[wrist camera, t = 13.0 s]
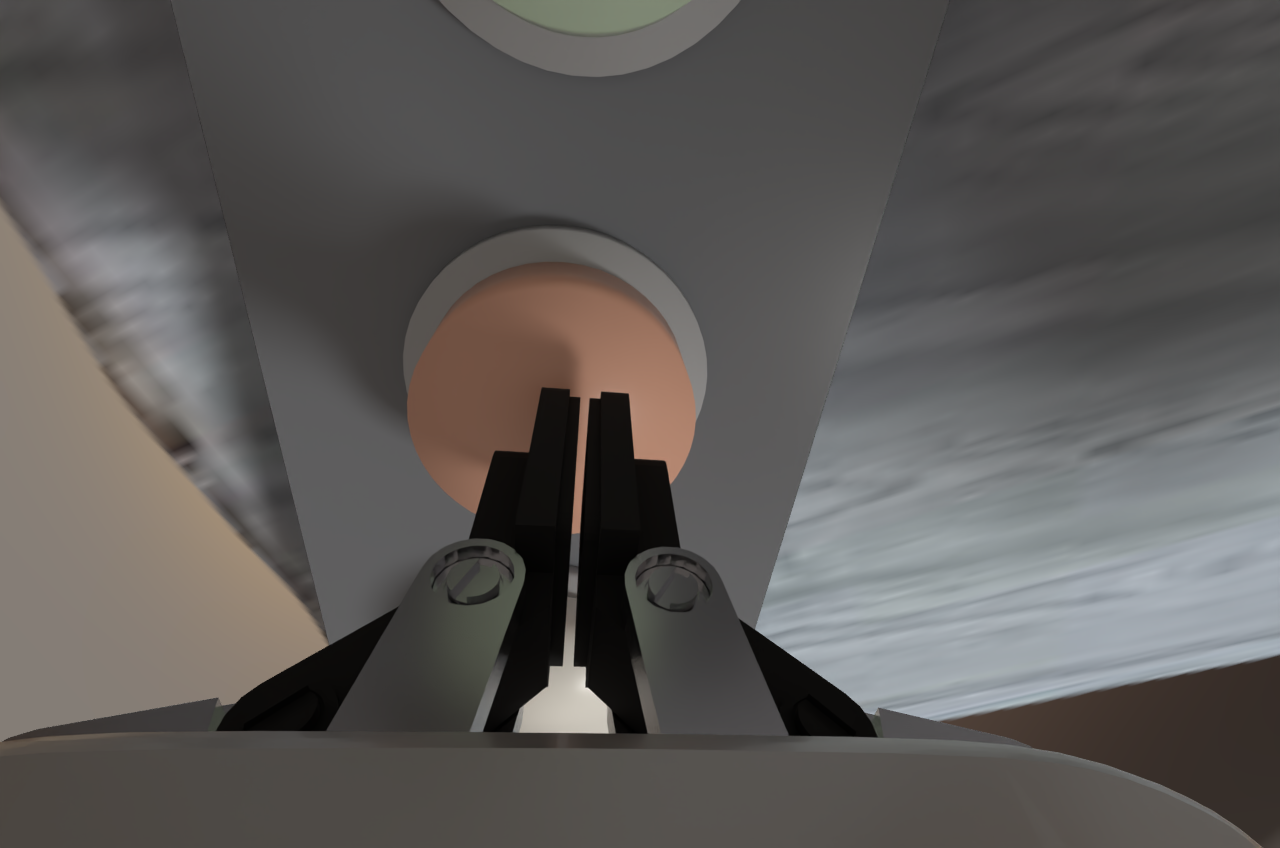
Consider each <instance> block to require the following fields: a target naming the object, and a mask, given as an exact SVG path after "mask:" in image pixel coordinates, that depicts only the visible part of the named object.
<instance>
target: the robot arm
mask: <svg viewBox="0 0 1280 848" xmlns="http://www.w3.org/2000/svg"><path fill="white" fill-rule="evenodd" d="M580 399H581V397H570V389H561V388H546V387H542V388H541V393H540V398H539V403H538V408H537V414H536V419H535V424H534V429H533V434H532V439H531V444H530V449H529V452H514V451H497V450H496V451H495V452H494V454H493V457H492V460H491V464H490V467H489V470H488V474H487V477H486V481H485V484H484V488H483V491H482V495H481V498H480V502H479V505H478V509H477V512H476V515H475V519H474V522H473V526H472V529H471V533H470V536H469V539H468V540H462V541H458V542H455V543H453V544H450V545H447V546H445V547H443V548H442V549H440V550H439V551H437V552H436V553H434V554H433V555H431V557H430V558H429V559H428V560H427V561H426V563H425V564H424V565H423V566H422V568H421V570H420V571H419V573H418V575H417V576H416V578H415V580H414V582H413V583H412V585H411V587H410V588H409V590H408V592H407V594H406V595H405V597H404V599H403V600H402V602H401V604H400V605H399V606H398V607H397V608H395V609H393V610H391V611H389V612H388V613H386V614H384V615H382V616H381V617H379V618H377V619H375V620H373V621H372V622H370V623H368V624H366V625H365V626H363V627H361V628H359V629H357V630H356V631H354V632H352V633H350V634H349V635H347V636H345V637H343V638H341V639H340V640H338V641H336V642H334V643H333V644H331V645H329V646H327V647H325V648H324V649H322V650H320V651H318V652H317V653H315V654H313V655H311V656H310V657H308V658H306V659H304V660H302V661H301V662H299V663H297V664H295V665H294V666H292V667H290V668H288V669H286V670H285V671H283V672H281V673H279V674H277V675H276V676H274V677H272V678H270V679H269V680H267V681H265V682H263V683H262V684H260V685H258V686H257V687H256V688H254V689H253V690H251V691H250V692H248V693H247V694H246V695H244V696H243V697H241V698H240V700H239V701H238V702H237V703H235V704H230V705H224V706H222V705H221V703H220V700H219V698H213V699H207V700H202V701H196V702H191V703H184V704H179V705H173V706H168V707H162V708H156V709H150V710H145V711H139V712H134V713H128V714H122V715H116V716H111V717H105V718H99V719H93V720H87V721H82V722H76V723H70V724H65V725H59V726H53V727H47V728H42V729H37V730H33V731H30V732H27V733H23V734H20V735H17V736H14V737H10V738H8V739H6V740H4V741H2V742H0V848H1262V847H1261V846H1260V845H1259V844H1257V843H1256V842H1255V841H1254V840H1253V839H1251V838H1250V837H1249V836H1248V835H1247V834H1245V833H1244V832H1243V831H1242V830H1240V829H1239V828H1238V827H1236V826H1235V825H1233V824H1231V823H1230V822H1229V821H1227V820H1226V819H1224V818H1223V817H1221V816H1220V815H1218V814H1217V813H1215V812H1214V811H1212V810H1210V809H1208V808H1207V807H1205V806H1203V805H1200V804H1199V803H1197V802H1195V801H1193V800H1191V799H1189V798H1187V797H1185V796H1183V795H1181V794H1179V793H1177V792H1175V791H1172V790H1170V789H1168V788H1166V787H1164V786H1162V785H1159V784H1157V783H1154V782H1151V781H1149V780H1146V779H1143V778H1140V777H1138V776H1135V775H1132V774H1129V773H1127V772H1123V771H1120V770H1118V769H1116V768H1113V767H1110V766H1107V765H1104V764H1100V763H1096V762H1092V761H1088V760H1085V759H1081V758H1077V757H1073V756H1069V755H1065V754H1061V753H1057V752H1051V751H1045V750H1038V749H1033V748H1032V747H1030V746H1028V745H1025V744H1023V743H1020V742H1018V741H1015V740H1012V739H1010V738H1005V737H1001V736H997V735H993V734H988V733H984V732H980V731H976V730H971V729H967V728H963V727H959V726H954V725H950V724H946V723H941V722H937V721H933V720H929V719H924V718H920V717H916V716H912V715H907V714H903V713H899V712H895V711H890V710H886V709H882V708H878V709H877V711H876V713H875V715H872V714H868V713H864V711H863V710H862V708H861V707H860V706H859V705H858V704H857V703H855V702H854V701H853V700H852V699H851V698H850V697H849V696H847V695H846V694H845V693H844V692H842V691H841V690H839V689H838V688H837V687H835V686H834V685H832V684H831V683H830V682H828V681H827V680H825V679H824V678H822V677H821V676H820V675H818V674H817V673H815V672H814V671H813V670H811V669H810V668H808V667H807V666H806V665H804V664H803V663H801V662H800V661H798V660H797V659H796V658H794V657H793V656H791V655H790V654H789V653H787V652H786V651H784V650H783V649H781V648H780V647H779V646H777V645H776V644H774V643H773V642H772V641H770V640H769V639H767V638H766V637H765V636H763V635H762V634H760V633H759V632H757V631H756V630H755V629H753V628H752V627H750V626H749V625H748V624H746V623H745V622H743V621H742V620H740V619H739V618H738V616H737V614H736V612H735V609H734V607H733V605H732V602H731V600H730V598H729V595H728V593H727V591H726V588H725V586H724V584H723V581H722V579H721V577H720V575H719V574H718V572H717V571H716V569H715V568H714V566H712V565H711V564H710V563H709V562H708V561H707V560H705V559H704V558H703V557H701V556H699V555H697V554H695V553H693V552H691V551H688V550H684V549H681V547H680V541H679V535H678V529H677V523H676V517H675V511H674V505H673V499H672V493H671V487H670V481H669V475H668V469H667V464H666V461H664V460H649V459H634V447H633V435H632V423H631V411H630V399H629V393H617V392H603V391H601V395H600V399H598V398H590V399H589V412H588V426H587V439H586V453H585V466H584V480H583V493H582V507H581V522H580V542H579V563H578V583H577V603H576V624H575V644H574V667H586V680H585V688H589V689H590V690H591V691H592V692H593V693H594V694H595V695H596V696H597V697H598V698H599V699H601V700H602V701H603V702H604V703H605V704H606V705H607V725H608V731H609V733H519V731H520V727H521V724H522V720H523V712H524V705H525V704H526V703H527V702H529V701H530V700H531V699H532V698H533V697H535V696H536V695H537V694H538V693H540V692H541V691H542V690H543V689H545V688H546V687H548V684H549V672H550V666H563V656H564V641H565V626H566V611H567V596H568V581H569V567H570V552H571V537H572V522H573V507H574V491H575V476H576V461H577V445H578V430H579V415H580Z"/></svg>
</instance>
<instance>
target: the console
mask: <svg viewBox="0 0 1280 848" xmlns="http://www.w3.org/2000/svg"><path fill="white" fill-rule="evenodd" d="M949 2H950V0H692V1H690V2H689V3H687V4H686V5H684V6H683V7H682V8H680V9H679V10H677V11H675V12H674V13H672V14H671V15H669V16H667V17H666V18H664V19H663V20H661V21H659V22H656V23H654V24H652V25H650V26H647V27H645V28H643V29H640V30H637V31H633V32H629V33H625V34H622V35H617V36H607V37H597V38H594V37H577V36H570V35H565V34H561V33H556V32H551V31H549V30H546V29H543V28H541V27H538V26H535V25H533V24H530V23H528V22H526V21H524V20H522V19H521V18H519V17H517V16H515V15H513V14H511V13H510V12H508V11H506V10H505V9H504V8H502V7H501V6H499V5H498V4H497V3H495V2H494V1H493V0H171V5H172V9H173V13H174V17H175V21H176V25H177V29H178V33H179V37H180V41H181V45H182V49H183V53H184V57H185V61H186V65H187V70H188V74H189V78H190V82H191V86H192V90H193V94H194V98H195V102H196V106H197V110H198V114H199V118H200V122H201V126H202V130H203V134H204V139H205V143H206V147H207V151H208V155H209V159H210V163H211V167H212V171H213V175H214V179H215V183H216V187H217V191H218V195H219V199H220V204H221V208H222V212H223V216H224V220H225V224H226V228H227V232H228V236H229V240H230V244H231V248H232V252H233V256H234V260H235V264H236V268H237V273H238V277H239V281H240V285H241V289H242V293H243V297H244V301H245V305H246V309H247V313H248V317H249V321H250V325H251V329H252V333H253V338H254V342H255V346H256V350H257V354H258V358H259V362H260V366H261V370H262V374H263V378H264V382H265V386H266V390H267V394H268V398H269V402H270V407H271V411H272V415H273V419H274V423H275V427H276V431H277V435H278V439H279V443H280V447H281V451H282V455H283V459H284V463H285V467H286V472H287V476H288V480H289V484H290V488H291V492H292V496H293V500H294V504H295V508H296V512H297V516H298V520H299V524H300V528H301V532H302V536H303V541H304V545H305V549H306V553H307V557H308V561H309V565H310V569H311V573H312V577H313V581H314V585H315V589H316V593H317V597H318V601H319V605H320V610H321V614H322V618H323V622H324V626H325V630H326V634H327V638H328V642H329V645H331V644H333V643H334V642H336V641H338V640H340V639H341V638H343V637H345V636H347V635H349V634H350V633H352V632H354V631H356V630H357V629H359V628H361V627H363V626H365V625H366V624H368V623H370V622H372V621H373V620H375V619H377V618H379V617H381V616H382V615H384V614H386V613H388V612H389V611H391V610H393V609H395V608H397V607H398V606H399V605H400V604H401V602H402V600H403V599H404V597H405V595H406V594H407V592H408V590H409V588H410V587H411V585H412V583H413V582H414V580H415V578H416V576H417V575H418V573H419V571H420V570H421V568H422V566H423V565H424V564H425V563H426V561H427V560H428V559H429V558H430V557H431V555H433V554H434V553H436V552H437V551H439V550H440V549H442V548H443V547H445V546H447V545H450V544H453V543H455V542H458V541H462V540H468V539H469V536H470V533H471V529H472V526H473V522H474V519H475V515H476V514H474V513H472V512H471V511H469V510H468V509H466V508H465V507H463V506H462V505H460V504H459V503H457V502H456V501H455V500H454V499H453V498H451V497H450V496H449V495H448V494H447V493H446V492H444V491H443V489H442V488H441V487H440V486H439V485H438V484H437V483H436V482H435V481H434V480H433V478H432V477H431V475H430V474H429V473H428V471H427V470H426V468H425V467H424V465H423V464H422V462H421V460H420V458H419V456H418V454H417V452H416V450H415V447H414V444H413V441H412V438H411V435H410V430H409V424H408V417H407V399H408V392H409V385H410V382H411V378H412V375H413V372H414V369H415V367H416V365H417V363H418V361H419V359H420V357H421V354H422V353H423V351H424V349H425V348H426V346H427V344H428V343H429V341H430V339H431V338H432V336H433V334H434V332H435V331H436V329H437V327H438V326H439V324H440V322H441V321H442V319H443V318H444V316H445V315H446V313H447V312H448V311H449V309H450V308H451V306H452V305H453V304H454V303H455V302H456V301H457V300H458V299H459V298H460V297H461V296H462V295H463V294H464V293H465V292H466V291H468V290H469V289H470V288H472V287H473V286H474V285H475V284H477V283H479V282H480V281H482V280H484V279H486V278H487V277H489V276H491V275H493V274H495V273H498V272H500V271H503V270H505V269H508V268H511V267H516V266H520V265H524V264H529V263H538V262H567V263H573V264H580V265H585V266H588V267H592V268H595V269H599V270H602V271H604V272H606V273H608V274H611V275H613V276H615V277H618V278H619V279H621V280H623V281H624V282H626V283H628V284H629V285H631V286H633V287H634V288H635V289H636V290H638V291H639V292H640V293H641V294H643V295H644V296H645V297H646V298H647V299H648V300H649V301H650V302H651V303H652V304H653V305H654V306H655V307H656V308H657V309H658V310H659V312H660V313H661V314H662V316H663V317H664V319H665V320H666V321H667V323H668V325H669V326H670V328H671V330H672V332H673V334H674V336H675V338H676V341H677V344H678V347H679V349H680V352H681V355H682V358H683V361H684V364H685V367H686V370H687V373H688V376H689V379H690V382H691V385H692V389H693V394H694V399H695V409H696V423H695V432H694V437H693V441H692V445H691V449H690V451H689V454H688V456H687V459H686V461H685V463H684V465H683V467H682V468H681V470H680V472H679V473H678V475H677V477H676V478H675V479H674V481H673V482H672V483H671V484H670V487H671V493H672V499H673V505H674V511H675V517H676V523H677V529H678V535H679V541H680V547H681V549H684V550H688V551H691V552H693V553H695V554H697V555H699V556H701V557H703V558H704V559H705V560H707V561H708V562H709V563H710V564H711V565H712V566H714V568H715V569H716V571H717V572H718V574H719V575H720V577H721V579H722V581H723V584H724V586H725V588H726V591H727V593H728V595H729V598H730V600H731V602H732V605H733V607H734V609H735V612H736V614H737V616H738V618H739V619H740V620H742V621H743V622H745V623H746V624H748V625H749V626H750V627H752V628H753V629H755V627H756V624H757V620H758V617H759V614H760V611H761V607H762V604H763V601H764V598H765V595H766V591H767V588H768V585H769V582H770V579H771V575H772V572H773V569H774V566H775V562H776V559H777V556H778V553H779V550H780V546H781V543H782V540H783V537H784V533H785V530H786V527H787V524H788V521H789V517H790V514H791V511H792V508H793V504H794V501H795V498H796V495H797V492H798V488H799V485H800V482H801V479H802V475H803V472H804V469H805V466H806V463H807V459H808V456H809V453H810V450H811V446H812V443H813V440H814V437H815V434H816V430H817V427H818V424H819V421H820V417H821V414H822V411H823V408H824V405H825V401H826V398H827V395H828V392H829V388H830V385H831V382H832V379H833V376H834V372H835V369H836V366H837V363H838V359H839V356H840V353H841V350H842V347H843V343H844V340H845V337H846V334H847V330H848V327H849V324H850V321H851V318H852V314H853V311H854V308H855V305H856V302H857V298H858V295H859V292H860V289H861V285H862V282H863V279H864V276H865V273H866V269H867V266H868V263H869V260H870V256H871V253H872V250H873V247H874V244H875V240H876V237H877V234H878V231H879V227H880V224H881V221H882V218H883V215H884V211H885V208H886V205H887V202H888V198H889V195H890V192H891V189H892V186H893V182H894V179H895V176H896V173H897V169H898V166H899V163H900V160H901V157H902V153H903V150H904V147H905V144H906V140H907V137H908V134H909V131H910V128H911V124H912V121H913V118H914V115H915V111H916V108H917V105H918V102H919V99H920V95H921V92H922V89H923V86H924V82H925V79H926V76H927V73H928V70H929V66H930V63H931V60H932V57H933V53H934V50H935V47H936V44H937V41H938V37H939V34H940V31H941V28H942V25H943V21H944V18H945V15H946V12H947V8H948V5H949ZM579 542H580V533H576V534H572V537H571V552H570V567H569V581H568V596H567V597H572V598H577V583H578V563H579Z"/></svg>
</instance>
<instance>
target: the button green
mask: <svg viewBox="0 0 1280 848" xmlns="http://www.w3.org/2000/svg"><path fill="white" fill-rule="evenodd" d="M493 1H494V2H495V3H497V4H498V5H499V6H501V7H502V8H504V9H505V10H506V11H508V12H510V13H511V14H513V15H515V16H517V17H519V18H521V19H522V20H524V21H526V22H528V23H530V24H533V25H535V26H538V27H541V28H543V29H546V30H549V31H551V32H556V33H561V34H565V35H570V36H577V37H594V38H597V37H607V36H617V35H622V34H625V33H629V32H633V31H637V30H640V29H643V28H645V27H647V26H650V25H652V24H654V23H656V22H659V21H661V20H663V19H664V18H666V17H667V16H669V15H671V14H672V13H674V12H675V11H677V10H679V9H680V8H682V7H683V6H684V5H686V4H687V3H689V2H690V1H692V0H493Z"/></svg>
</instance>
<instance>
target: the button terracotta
mask: <svg viewBox="0 0 1280 848" xmlns="http://www.w3.org/2000/svg"><path fill="white" fill-rule="evenodd" d="M542 387H546V388H561V389H570V397H581V399H580V415H579V430H578V445H577V461H576V476H575V491H574V507H573V522H572V534H576V533H580V522H581V507H582V493H583V480H584V466H585V453H586V439H587V426H588V412H589V399H590V398H598V399H600V395H601V391H603V392H617V393H629V399H630V411H631V423H632V435H633V447H634V459H649V460H664V461H666V464H667V469H668V475H669V481H670V484H671V483H672V482H673V481H674V479H675V478H676V477H677V475H678V473H679V472H680V470H681V468H682V467H683V465H684V463H685V461H686V459H687V456H688V454H689V451H690V449H691V445H692V441H693V437H694V432H695V423H696V409H695V399H694V394H693V389H692V385H691V382H690V379H689V376H688V373H687V370H686V367H685V364H684V361H683V358H682V355H681V352H680V349H679V347H678V344H677V341H676V338H675V336H674V334H673V332H672V330H671V328H670V326H669V325H668V323H667V321H666V320H665V319H664V317H663V316H662V314H661V313H660V312H659V310H658V309H657V308H656V307H655V306H654V305H653V304H652V303H651V302H650V301H649V300H648V299H647V298H646V297H645V296H644V295H643V294H641V293H640V292H639V291H638V290H636V289H635V288H634V287H633V286H631V285H629V284H628V283H626V282H624V281H623V280H621V279H619V278H618V277H615V276H613V275H611V274H608V273H606V272H604V271H602V270H599V269H595V268H592V267H588V266H585V265H580V264H573V263H567V262H538V263H529V264H524V265H520V266H516V267H511V268H508V269H505V270H503V271H500V272H498V273H495V274H493V275H491V276H489V277H487V278H486V279H484V280H482V281H480V282H479V283H477V284H475V285H474V286H473V287H472V288H470V289H469V290H468V291H466V292H465V293H464V294H463V295H462V296H461V297H460V298H459V299H458V300H457V301H456V302H455V303H454V304H453V305H452V306H451V308H450V309H449V311H448V312H447V313H446V315H445V316H444V318H443V319H442V321H441V322H440V324H439V326H438V327H437V329H436V331H435V332H434V334H433V336H432V338H431V339H430V341H429V343H428V344H427V346H426V348H425V349H424V351H423V353H422V354H421V357H420V359H419V361H418V363H417V365H416V367H415V369H414V372H413V375H412V378H411V382H410V385H409V392H408V399H407V417H408V424H409V430H410V435H411V438H412V441H413V444H414V447H415V450H416V452H417V454H418V456H419V458H420V460H421V462H422V464H423V465H424V467H425V468H426V470H427V471H428V473H429V474H430V475H431V477H432V478H433V480H434V481H435V482H436V483H437V484H438V485H439V486H440V487H441V488H442V489H443V491H444V492H446V493H447V494H448V495H449V496H450V497H451V498H453V499H454V500H455V501H456V502H457V503H459V504H460V505H462V506H463V507H465V508H466V509H468V510H469V511H471V512H472V513H474V514H476V512H477V509H478V505H479V502H480V498H481V495H482V491H483V488H484V484H485V481H486V477H487V474H488V470H489V467H490V464H491V460H492V457H493V454H494V452H495V451H496V450H497V451H514V452H529V449H530V444H531V439H532V434H533V429H534V424H535V419H536V414H537V408H538V403H539V398H540V393H541V388H542Z"/></svg>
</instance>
